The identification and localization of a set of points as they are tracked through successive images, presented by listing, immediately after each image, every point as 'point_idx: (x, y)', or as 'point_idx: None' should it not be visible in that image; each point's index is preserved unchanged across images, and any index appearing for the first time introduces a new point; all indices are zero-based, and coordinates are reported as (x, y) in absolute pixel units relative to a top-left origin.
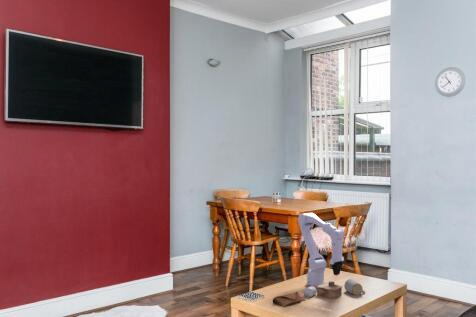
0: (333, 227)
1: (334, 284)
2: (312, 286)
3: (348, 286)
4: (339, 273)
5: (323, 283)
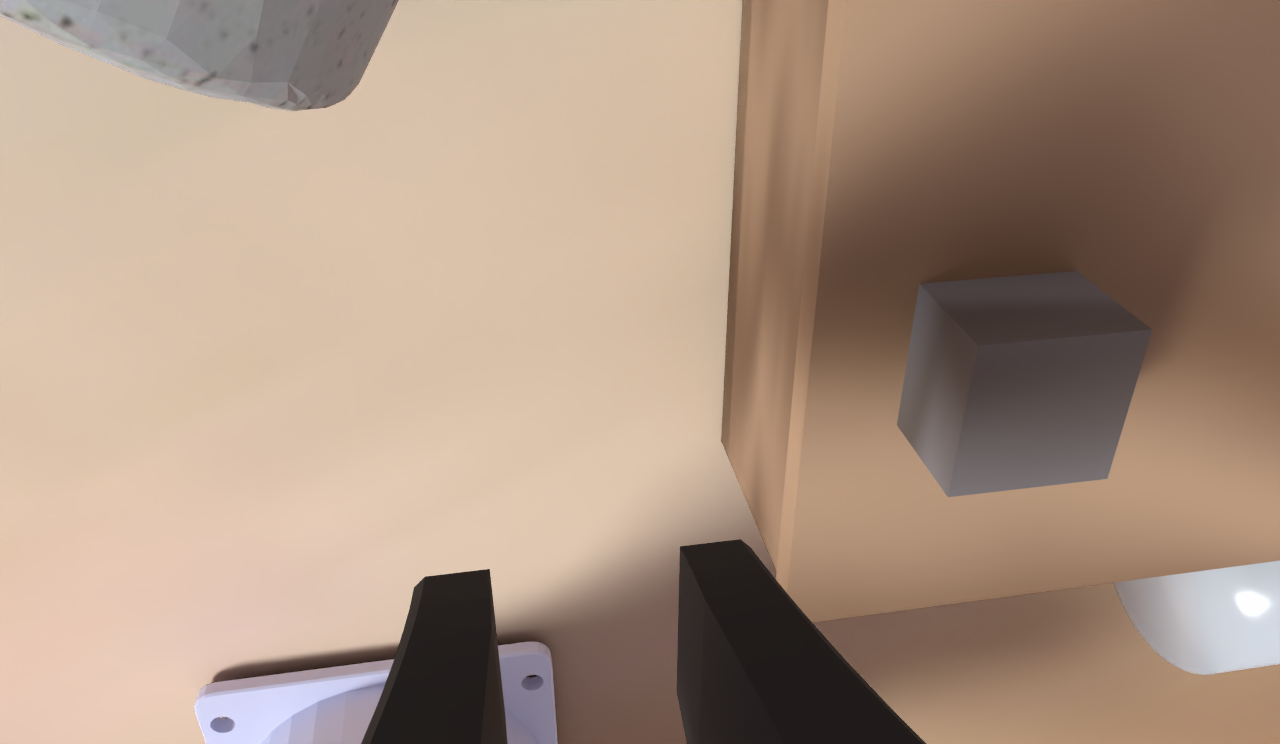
0: None
1: (830, 324)
2: (1276, 631)
3: None
4: (458, 604)
5: (927, 597)
